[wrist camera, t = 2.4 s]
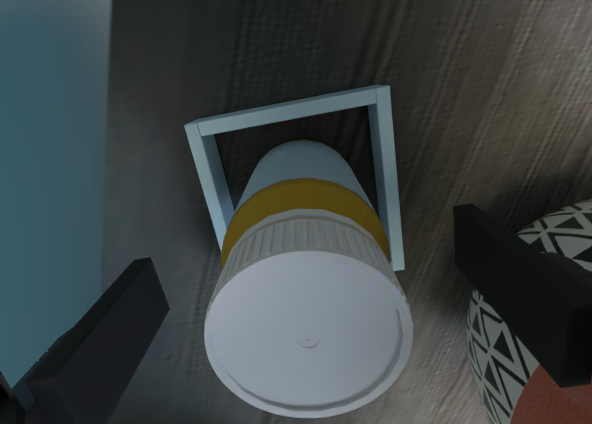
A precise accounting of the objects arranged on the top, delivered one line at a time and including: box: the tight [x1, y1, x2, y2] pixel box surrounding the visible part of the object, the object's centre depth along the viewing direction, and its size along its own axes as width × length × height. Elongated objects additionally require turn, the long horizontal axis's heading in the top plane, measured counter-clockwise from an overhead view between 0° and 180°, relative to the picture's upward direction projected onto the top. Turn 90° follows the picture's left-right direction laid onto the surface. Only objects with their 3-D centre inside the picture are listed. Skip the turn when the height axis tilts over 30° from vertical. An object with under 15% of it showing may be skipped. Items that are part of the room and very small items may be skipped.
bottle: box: [204, 139, 413, 418], centre depth 17 cm, size 7×7×15 cm
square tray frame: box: [184, 84, 405, 271], centre depth 23 cm, size 12×12×3 cm
